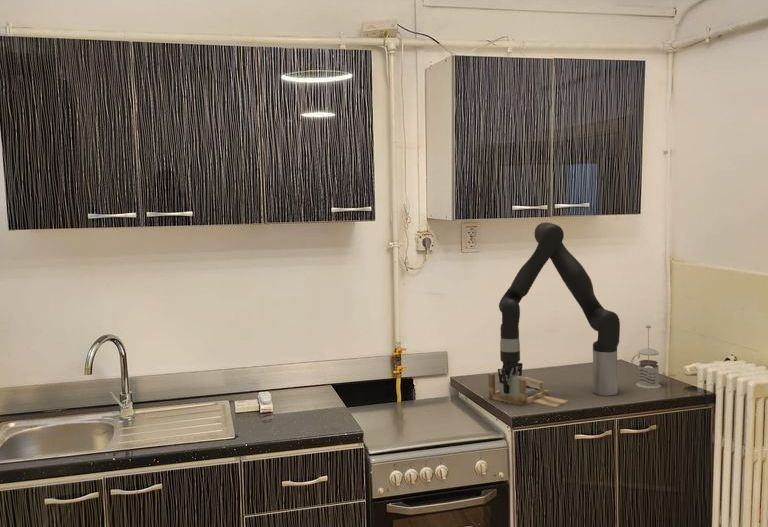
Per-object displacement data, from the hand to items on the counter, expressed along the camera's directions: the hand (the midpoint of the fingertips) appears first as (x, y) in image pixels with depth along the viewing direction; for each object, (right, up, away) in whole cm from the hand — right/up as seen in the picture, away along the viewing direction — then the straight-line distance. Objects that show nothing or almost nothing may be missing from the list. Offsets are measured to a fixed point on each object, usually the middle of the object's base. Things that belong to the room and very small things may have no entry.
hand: (510, 391), depth 272 cm
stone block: (+7, -3, +7) cm, 11 cm away
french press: (+58, 0, +14) cm, 60 cm away
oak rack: (+4, -3, +4) cm, 6 cm away
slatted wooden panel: (+14, -3, -4) cm, 15 cm away
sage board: (0, -4, 0) cm, 4 cm away
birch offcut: (+9, +1, +8) cm, 12 cm away
